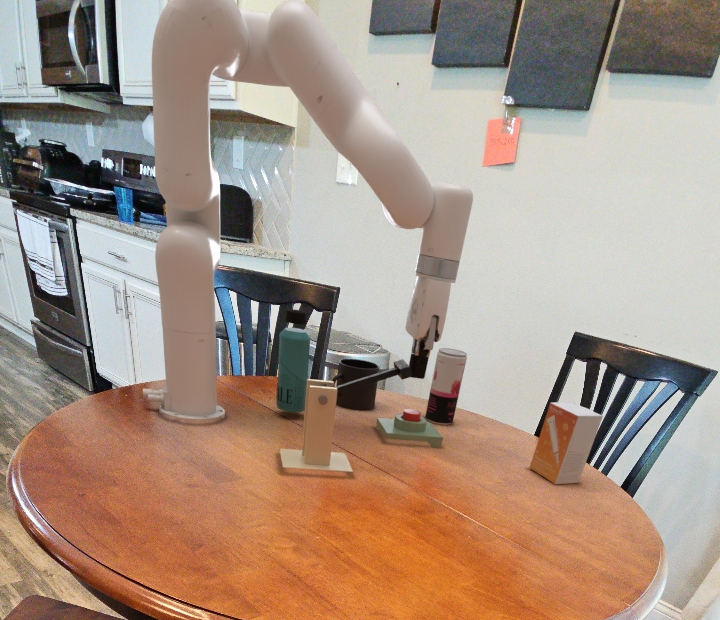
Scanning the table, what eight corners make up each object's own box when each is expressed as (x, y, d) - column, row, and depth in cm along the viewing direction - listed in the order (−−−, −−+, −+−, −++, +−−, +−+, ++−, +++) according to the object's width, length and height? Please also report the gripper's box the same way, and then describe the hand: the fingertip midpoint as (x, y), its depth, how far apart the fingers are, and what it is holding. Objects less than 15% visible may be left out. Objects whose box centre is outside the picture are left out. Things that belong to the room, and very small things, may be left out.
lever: (405, 371, 99) (402, 356, 97) (412, 379, 95) (409, 363, 93) (313, 400, 99) (309, 386, 98) (316, 409, 95) (312, 394, 94)
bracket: (344, 459, 108) (353, 380, 100) (352, 478, 101) (362, 394, 93) (279, 454, 106) (283, 373, 97) (282, 474, 99) (287, 387, 90)
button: (404, 422, 120) (405, 413, 119) (400, 416, 123) (401, 408, 122) (421, 423, 121) (422, 415, 120) (416, 418, 123) (418, 409, 122)
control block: (385, 443, 119) (388, 423, 116) (375, 427, 126) (378, 408, 124) (441, 447, 121) (445, 428, 119) (428, 432, 129) (432, 413, 127)
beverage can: (455, 426, 135) (471, 356, 126) (428, 424, 134) (442, 353, 125) (448, 418, 140) (462, 349, 131) (422, 415, 139) (435, 346, 130)
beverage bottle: (308, 413, 128) (315, 310, 116) (302, 422, 123) (310, 315, 111) (278, 408, 128) (283, 305, 116) (272, 417, 123) (276, 309, 111)
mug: (317, 400, 138) (321, 359, 132) (358, 397, 144) (363, 358, 139) (341, 412, 132) (345, 369, 127) (382, 409, 139) (388, 368, 133)
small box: (528, 468, 118) (549, 401, 110) (552, 467, 120) (574, 401, 112) (554, 485, 112) (578, 415, 104) (579, 483, 115) (604, 415, 107)
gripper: (407, 261, 111) (389, 365, 122) (428, 270, 99) (406, 384, 110) (444, 268, 112) (423, 370, 123) (469, 278, 101) (443, 389, 112)
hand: (415, 376), depth 117 cm, fingers closed
